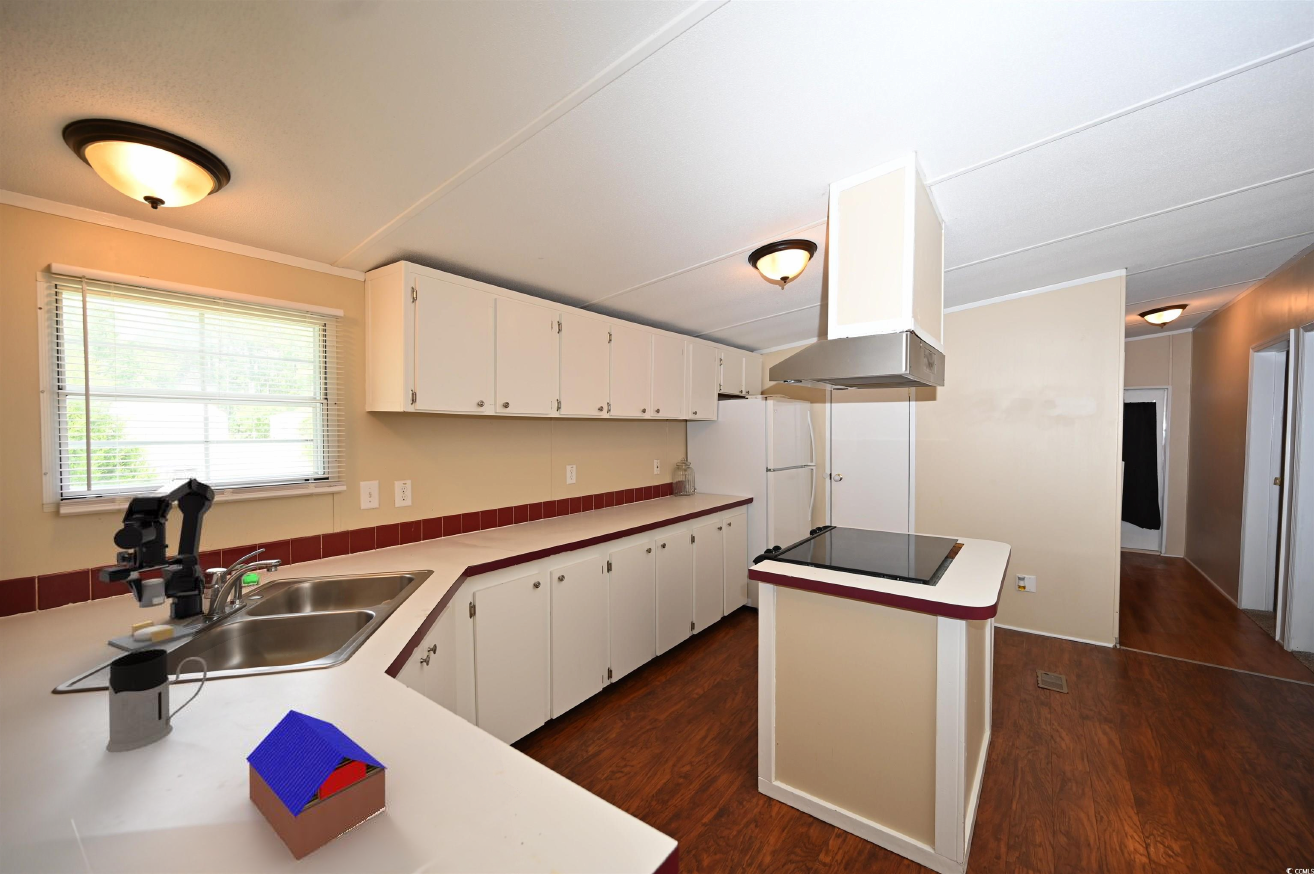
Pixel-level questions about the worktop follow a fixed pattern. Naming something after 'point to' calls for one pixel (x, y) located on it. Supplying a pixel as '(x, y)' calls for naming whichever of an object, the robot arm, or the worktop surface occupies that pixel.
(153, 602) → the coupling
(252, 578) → the mechanical part
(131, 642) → the board
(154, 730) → the glass holder
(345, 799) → the house
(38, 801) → the worktop surface
